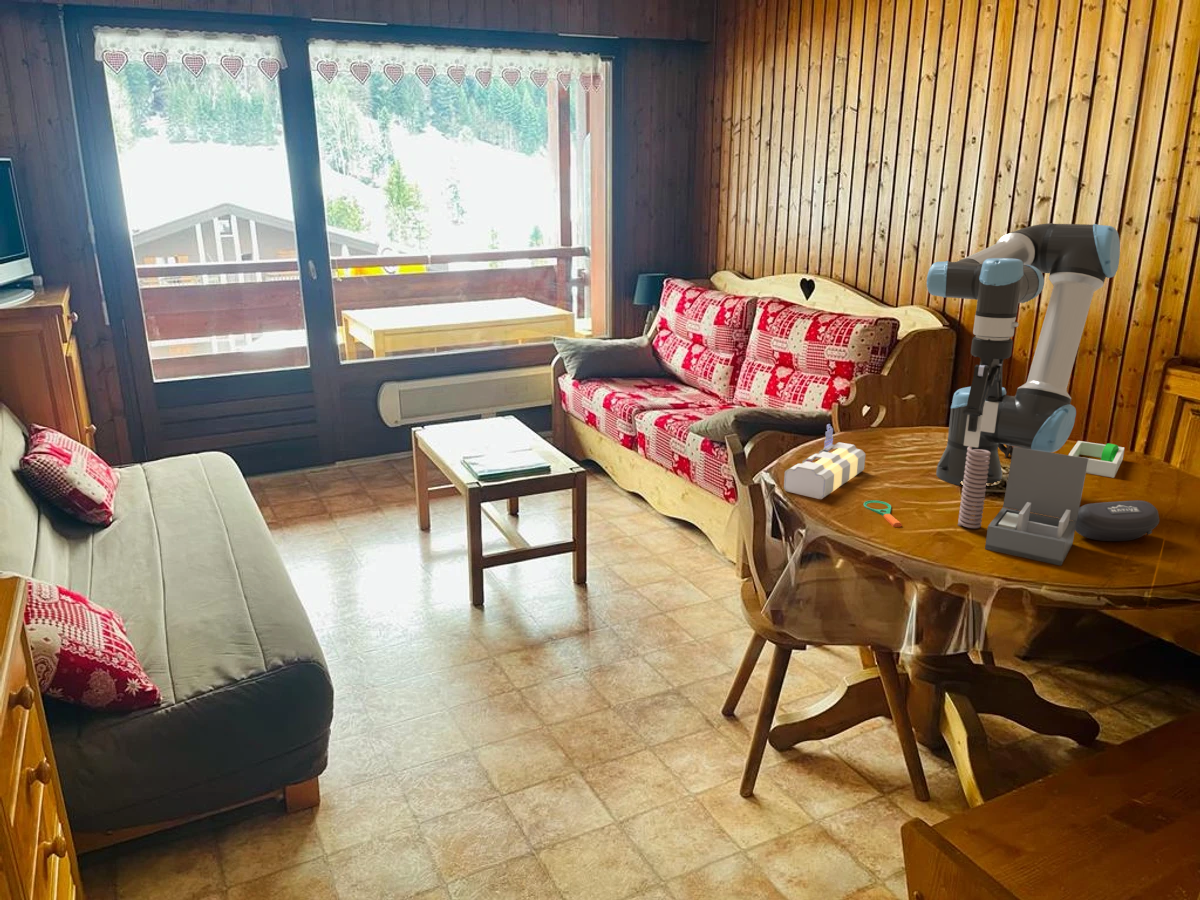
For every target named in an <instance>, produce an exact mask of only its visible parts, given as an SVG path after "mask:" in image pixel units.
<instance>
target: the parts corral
mask: <svg viewBox="0 0 1200 900" xmlns="http://www.w3.org/2000/svg"><path fill="white" fill-rule="evenodd" d="M1105 446H1106V444H1103V443H1097V442H1096V443H1095V442H1089V441H1082V440H1077V441H1076V444H1075V445H1074V446H1073V447H1072V449H1071V450H1070V452H1069V453H1068V455H1070V456H1076V457H1080V455H1083V456H1088V457H1089V459H1088V464H1087V470H1086V474H1090V475H1096V476H1102V477H1106V478H1113V479H1114V478H1115V477H1116V475H1117V473H1118V470H1119V469H1120V466H1121V464H1122V462H1123V458H1124V455H1125V447H1122V446H1118V452H1117V454H1116V456H1115V458H1114V460H1113V462H1109V461H1102V460H1101V456H1102V452H1103V449H1104V447H1105ZM1090 457H1094V458H1090ZM1095 458H1100V459H1095Z"/></svg>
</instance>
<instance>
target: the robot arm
mask: <svg viewBox="0 0 1200 900" xmlns="http://www.w3.org/2000/svg"><path fill="white" fill-rule="evenodd" d="M1119 236H1120V235H1119V232H1118V231H1117V229H1116V228H1115V227H1114V226H1112V225H1105V224H1097V223H1093V224H1088V223H1087V224H1083V223H1082V224H1081V223H1079V224H1078V223H1052V222H1051V223H1040V224H1033V225H1030V226H1027V227H1024V228H1023V227H1022V228H1020V229H1017V230H1014V231H1012V232H1009V233H1007V234H1005V235H1003V236H1001V237H1000V238H999V239H998V240H997V241H996V243H995V244H993V245H990V246H988V247H986V248H984V249H982V250H979V251H977V252H975V253H973V254H971V255H968V256H966V257H964V258H962V259H959V260H957V261H948V260H946V261H936V262H934V263H932V264H931V266H930V268H929V269H928V272H927V277H926V288H927V291H928V293H929V294H930V295H931V296H934V297H935V296H936V297H941V298H953V299H962V300H963V299H964V300H975V301H977V302H976V310H975V315H974V324H973V331H972V333H973V335H974V336H973V338H972V340H971V346H970V355H971V356H973V357H975V358H979V359H980V361H979V364H975V366H974V371H973V377H972V382H971V385H970V386H967V387H966V386H965V387H962V388H959V389H957V390H956V391H955V392H954V393H953V396H952V401H951V402H952V403H951V405H950V415H949V424H948V435H947V444H946V447H945V449H944V451H943V453H942V454H941V457H940V459H939V461H938V463H937V467H936V472H935V474H936V476H937V478H938V479H940V480H942V481H944V482H946V483H949V484H952V485H956V486H961V485H960V482H961V481H963V480H964V474H965V473H964V471H965V470H966V469H965V466H966V463H965V462H966V461H967V460H966V457H967V452H968V451H967V448H968V447H969V446H970V447H972V450H974V449H982V450H987V451H990V452H991V455H990V456H989V457H990V460H988V461H989V462H990V464H989V465H988V466H989V469H987V470H988V474H987V475H988V478H986V479H987V482H986V483H994V482H997V481H1000V480H1001V479H1003V470H1002V465H1001V460H1000V455H999V452H998V451H999V448H998V444H999V443H1001V444H1004V446H1006V445H1011V446H1016V447H1021V448H1026V449H1031V450H1038V451H1044V452H1050V453H1055V452H1057V451H1059V450H1060V449H1062V447H1063V446H1064V445H1065V443H1066V442H1067V441H1068V439H1069V437H1070V435H1071V433H1072V431H1073V428H1074V425H1075V422H1076V416H1077V410H1076V407H1075V406H1074V405H1072V404H1071V402H1072V397H1071V396H1070V394H1069V393H1068V391H1067V390H1068V389H1067V388H1068V385H1069V381H1070V378H1071V374H1072V370H1073V367H1074V365H1075V361H1076V357H1077V353H1078V350H1079V348H1080V347H1079V346H1080V343H1081V339H1082V335H1083V332H1084V328H1085V325H1086V321H1087V318H1088V315H1089V310H1090V308H1091V305H1092V300H1093V297H1094V294H1095V292H1097V291H1098V290H1100V289H1101V288H1103V286H1104V285H1105V281H1106V278H1107V279H1110V278H1114V277H1115V276H1116V274H1117V272H1118V270H1119V265H1120V257H1121V243H1120V237H1119ZM1043 273H1044V274H1049V275H1048V280H1049V281H1050V282H1051V284H1052V285H1053V286H1052V287H1053V288H1052V291H1051V294H1050V298H1049V302H1048V305H1047V308H1046V312H1045V316H1044V320H1043V322H1042V327H1041V330H1040V334H1039V337H1038V340H1037V344H1036V348H1035V351H1034V354H1033V355H1034V356H1033V359H1032V362H1031V365H1030V368H1029V373H1028V375H1027V380H1026V382H1025V383H1024V384H1022V385H1021V386H1019V387H1017V389H1016V393H1015V395H1007V389H1006V388H1005V387H1003V368H1004V367H1003V366H1004V360H1006V359H1009V358H1010V357H1011V356H1012V353H1013V351H1012V350H1013V343H1014V341H1013V339H1012V337H1014V335H1015V328H1017V327H1019V325H1020V323H1019V322H1017V321H1016V320H1017V315H1018V307H1019V304H1024V303H1027V302H1029V301H1031V300H1033V299H1036V297H1038V296H1039V295H1040V294H1041V293H1042V291H1043V289H1044V285H1045V279H1044V275H1043ZM970 459H971V458H970ZM969 468H970V467H969ZM1001 481H1002V480H1001Z"/></svg>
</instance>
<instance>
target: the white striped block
mask: <svg viewBox="0 0 1200 900" xmlns="http://www.w3.org/2000/svg"><path fill="white" fill-rule="evenodd" d="M826 430H827V431H825V433H824V435H825V440H824V444H823V448H822V449H821V450H819V451H818V453H814V454H812V455H810V456H809V457H807V458H805V459H803V460H802V463H798V462H797V464H795V465H793V466H791V467H790V468H788V469H786V470H785V471H784V477H783V478H784V479H783V480H784V481H783V489H784V491H785V492H788V493H793V494H796V495H801V496H805V497H809V498H813V499H818V500H823V499H824V498H826V497H827V496H828V495H830V494H831V493H833V492H834V491H836V490H837V489H838V488H840V487H841V486H843V485H844V484H845V483H847V482H848V481H850V480H851V479H853V478H855V477H856V476H857V475H859V474H860V473H862V472H863V471H864V470H865V464H866V463H865V462H866V452H864V450H863V449H859V448H857V447H856V445H855V444H851V443H846V442H845V443H844V442H841V441H840V442H837V443H835V444H833V443H834V436H833V434H834V433H833V432H834V428H833V427H832V426H831V424H830V423H828V424H826ZM831 450H833V451H831ZM830 451H831V452H830ZM816 459H818V460H817V461H814V460H816ZM813 461H814V462H813Z"/></svg>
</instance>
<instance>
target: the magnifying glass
mask: <svg viewBox="0 0 1200 900" xmlns="http://www.w3.org/2000/svg"><path fill="white" fill-rule="evenodd" d="M872 503H874V504H876V503H877V504H881V505H885V506H886V507H887V508H884V509H878V508H872V507H870V506H867V505H868V504H872ZM863 506H864V507H863V508H865V509H867V510H869V511H871V512H873V513H877V514H878V515H879V516H880V515H881V516H882V517H883V518H884V519H885V520H886V521H887V522H888V524H890V525H891V526H892V527H893V528H901V527H902V526H903V525H902V523H901V521H899V520H898V519H897V518H895V517H894V515H892V514H891V512H892V504H889V503H888V502H886V501H881V500H876V499H875V500H874V499H873V500H867V501H864V502H863Z"/></svg>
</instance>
